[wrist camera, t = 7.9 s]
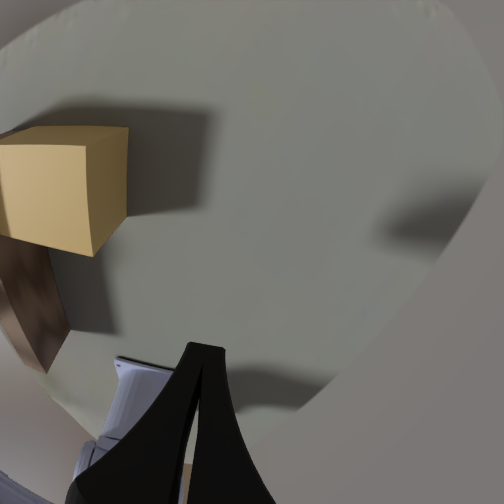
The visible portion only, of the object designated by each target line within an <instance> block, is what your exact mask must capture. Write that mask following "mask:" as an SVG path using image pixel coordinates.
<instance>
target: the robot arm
mask: <svg viewBox="0 0 504 504" xmlns="http://www.w3.org/2000/svg"><path fill="white" fill-rule="evenodd" d="M225 351H226V350H225V349H224V348H223V347H217V346H212V345H206V344H201V343H195V342H189V343H187V346H186V348H185V351H184V353H183V355H182V357H181V359H180V361H179V363H178V365H177V366H176V368H175V370H174V371H170V370H165V369H161V368H157V367H152V366H148V365H144V364H140V363H136V362H133V361H129V360H125V359H121V358H118V357H116V358H115V359H114V364H115V367H116V371H117V374H118V377H119V380H120V382H119V385H118V388H117V390H116V393H115V396H114V399H113V402H112V405H111V407H110V410H109V413H108V416H107V419H106V422H105V426H104V429H103V432H102V435H99V438H98V442H97V445H96V441H94V440H90V441H87V442H85V443H84V444H83V447H82V449H81V451H80V454H79V457H78V460H77V464H76V467H75V472H74V476H73V482H72V484H71V485H70V487H69V490H68V492H67V496H66V501H65V504H182V502H183V496H184V479H183V476H182V472H183V465H184V458H185V452H186V447H187V442H188V439H189V435H190V431H191V427H192V424H193V420H194V416H195V412H196V409H197V405H198V401H199V415H198V433H197V440H196V446H195V452H194V459H193V465H192V472H191V479H190V485H189V492H188V499H187V504H276V503H275V501H274V499H273V498H272V496H271V495H270V493H269V491H268V490H267V488H266V487H265V485H264V483H263V481H262V479H261V477H260V475H259V473H258V471H257V470H256V467H255V465H254V464H253V461H252V460H251V457H250V455H249V452H248V450H247V448H246V445H245V443H244V440H243V438H242V435H241V432H240V429H239V426H238V423H237V420H236V416H235V413H234V409H233V405H232V401H231V397H230V392H229V387H228V381H227V374H226V364H225ZM199 397H200V399H199ZM0 504H54V503H52V502H50V501H48V500H46V499H44V498H42V497H40V496H38V495H37V494H35V493H33V492H31V491H30V490H28V489H26V488H25V487H23V486H21V485H19V484H18V483H16V482H15V481H13V480H12V479H10V478H9V477H8V475H6V474H5V473H4V472H2V471H1V470H0Z"/></svg>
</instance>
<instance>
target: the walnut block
mask: <svg viewBox="0 0 504 504" xmlns="http://www.w3.org/2000/svg"><path fill="white" fill-rule="evenodd" d="M20 131H23V130H16V131H8V132H5V133H3V134H0V139H3V138H5V137H8V136H10V135H13V134H15V133H18V132H20ZM0 322H1V324H2V326H3V327H4V329H5V331H6V333H7V335H8V337H9V339H10V341H11V342H12V344H13V346H14V348H15V349H16V351H17V353H18V355H19V356H20V358H21V360H22V361H23V363H24V364H25V365H27V366H29V367H32V368H34V369H36V370H38V371H40V372H42V373H45V374H47V372H48V370H49V368H50V367H51V365H52V363H53V361H54V359H55V357H56V355H57V353H58V351H59V350H60V348H61V346H62V344H63V342H64V341H65V339H66V337H67V335H68V334H69V332H70V328H69V325H68V322H67V319H66V316H65V313H64V310H63V307H62V304H61V300H60V297H59V294H58V290H57V287H56V283H55V280H54V276H53V272H52V268H51V264H50V260H49V255H48V251H47V246H43V245H39V244H35V243H31V242H27V241H23V240H19V239H15V238H12V237H8V236H4V235H0Z"/></svg>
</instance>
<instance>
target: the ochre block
mask: <svg viewBox="0 0 504 504" xmlns="http://www.w3.org/2000/svg"><path fill="white" fill-rule="evenodd" d="M128 135H129V127H114V126H78V125H66V126H34V127H31V128H28V129H25V130H23V131H20V132H18V133H15V134H13V135H10V136H8V137H5V138H3V139H0V235H4V236H8V237H12V238H15V239H19V240H23V241H27V242H31V243H35V244H39V245H43V246H48V247H52V248H56V249H60V250H64V251H69V252H73V253H77V254H82V255H86V256H91V257H94V255H95V254H96V253H97V252H98V250H99V249H100V248H101V247H102V246H103V244H104V243H105V242H106V241H107V239H108V238H109V237H110V236H111V235H112V234H113V232H114V231H115V230H116V229H117V228H118V226H119V225H120V224H121V223H122V222H123V221H124V220H125V218H126V217H127V152H128Z"/></svg>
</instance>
